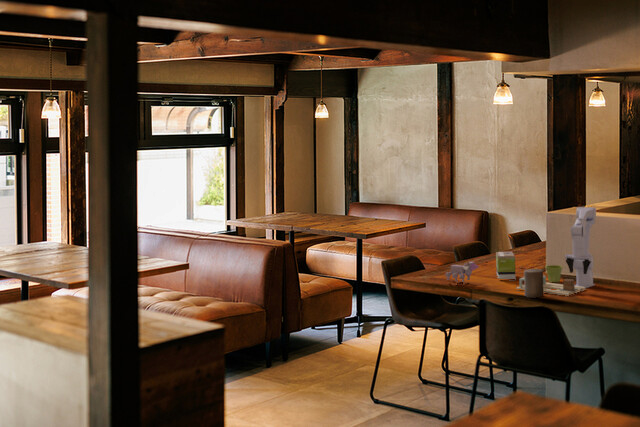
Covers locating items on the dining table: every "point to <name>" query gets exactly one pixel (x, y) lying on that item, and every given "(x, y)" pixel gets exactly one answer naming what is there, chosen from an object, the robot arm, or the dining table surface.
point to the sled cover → (523, 279)
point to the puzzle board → (557, 289)
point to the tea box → (505, 265)
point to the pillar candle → (533, 283)
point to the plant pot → (554, 273)
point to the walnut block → (568, 284)
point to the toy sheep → (462, 271)
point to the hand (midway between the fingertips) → (578, 273)
